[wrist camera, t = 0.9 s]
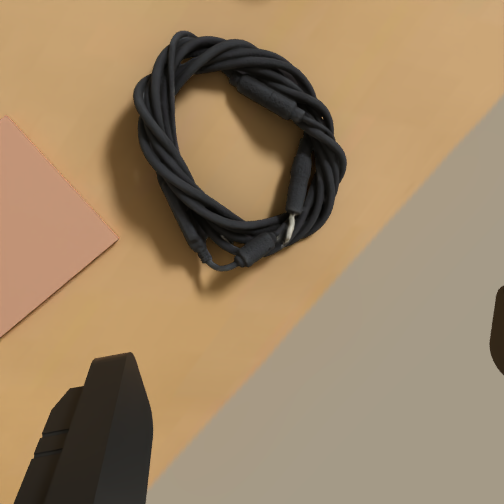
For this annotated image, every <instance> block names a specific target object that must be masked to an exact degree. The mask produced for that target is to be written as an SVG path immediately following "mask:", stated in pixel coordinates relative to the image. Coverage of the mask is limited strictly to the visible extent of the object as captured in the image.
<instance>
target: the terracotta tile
mask: <svg viewBox="0 0 504 504" xmlns="http://www.w3.org/2000/svg"><path fill="white" fill-rule="evenodd" d="M118 239H119V237H118V236H117V235H116V234H115V233H114V232H113V230H112V229H111V228H110V227H109V226H108V225H107V224H106V223H105V222H104V221H103V219H102V218H101V217H100V216H99V215H98V214H97V213H96V212H95V211H94V210H93V209H92V207H91V206H90V205H89V204H88V203H87V202H86V201H85V200H84V199H83V198H82V196H81V195H80V194H79V193H78V192H77V191H76V190H75V189H74V188H73V187H72V185H71V184H70V183H69V182H68V181H67V180H66V179H65V178H64V177H63V176H62V175H61V173H60V172H59V171H58V170H57V169H56V168H55V167H54V166H53V165H52V164H51V162H50V161H49V160H48V159H47V158H46V157H45V156H44V155H43V154H42V153H41V151H40V150H39V149H38V148H37V147H36V146H35V145H34V144H33V143H32V142H31V141H30V139H29V138H28V137H27V136H26V135H25V134H24V133H23V132H22V131H21V130H20V128H19V127H18V126H17V125H16V124H15V123H14V122H13V121H12V120H11V119H10V117H8V116H6V115H5V116H4V117H3V118H2V119H0V337H1V336H3V335H4V334H5V333H6V332H7V331H9V330H10V329H11V328H12V327H13V326H15V325H16V324H17V323H18V322H19V321H21V320H22V319H23V318H24V317H25V316H27V315H28V314H29V313H30V312H31V311H33V310H34V309H35V308H36V307H37V306H39V305H40V304H41V303H42V302H43V301H45V300H46V299H47V298H48V297H49V296H51V295H52V294H53V293H54V292H55V291H57V290H58V289H59V288H60V287H61V286H63V285H64V284H65V283H66V282H67V281H69V280H70V279H71V278H72V277H73V276H75V275H76V274H77V273H78V272H79V271H81V270H82V269H83V268H84V267H85V266H87V265H88V264H89V263H90V262H91V261H93V260H94V259H95V258H96V257H97V256H99V255H100V254H101V253H102V252H103V251H105V250H106V249H107V248H108V247H109V246H111V245H112V244H113V243H114V242H115V241H117V240H118Z"/></svg>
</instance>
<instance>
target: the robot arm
mask: <svg viewBox="0 0 504 504" xmlns="http://www.w3.org/2000/svg"><path fill="white" fill-rule="evenodd" d="M490 352H491V356H492V358H493V361H494V363H495V365H496V366H497V368H498V369H499V370H500V372H501V373H502V374H503V375H504V286H502V287H501V288H500V289H499V290H498V292H497V295H496V302H495V309H494V315H493V322H492V329H491V336H490ZM152 440H153V419H152V412H151V407H150V404H149V400H148V397H147V394H146V391H145V388H144V385H143V381H142V378H141V375H140V372H139V369H138V366H137V362H136V360H135V357H134V355H133V354H132V353H131V352H128V353H123V354H117V355H112V356H106V357H101V358H95V359H94V360H93V361H92V363H91V366H90V369H89V372H88V375H87V378H86V381H85V384H84V386H81V387H76V388H70V389H69V390H68V391H67V393H66V394H65V395H64V396H63V397H62V398H61V400H60V401H59V402H58V403H57V404H56V405H55V407H54V408H53V409H52V410H51V413H50V415H49V418H48V420H47V423H46V425H45V427H44V430H43V432H42V438H40V440H39V442H38V445H37V447H36V450H35V452H34V459H32V460H31V462H30V465H29V467H28V470H27V472H26V474H25V477H24V479H23V482H22V484H21V487H20V489H19V492H18V494H17V497H16V499H15V502H14V504H145V503H146V494H147V485H148V476H149V467H150V458H151V449H152Z"/></svg>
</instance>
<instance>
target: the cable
mask: <svg viewBox="0 0 504 504" xmlns="http://www.w3.org/2000/svg"><path fill="white" fill-rule="evenodd" d="M191 57H195V58H192V59H190V60H189V61H187V62H186V63H184V64H181V61H182V60H183V59H186V58H191ZM214 71H222V72H223V73H224V74H226V76H227V77H228V78H229V83H230V84H231V85H233V86H235V87H237V91H238V92H240V93H241V94H243V95H245V96H247V97H248V98H250V99H252V100H253V101H255V102H257V103H258V104H260V105H262V106H263V107H265V108H267V109H269V110H270V111H272V112H274V113H276V114H277V115H279V116H281V117H282V118H283V119H286V120H289V119H291V120H292V121H293V122H294V123H295V124H296V125H297V126H298V127H300V128H301V129H302V130H303V131H304V136H303V138H301V139H300V143H299V147H298V151H297V154H296V156H295V157H294V161H293V165H292V168H291V172H290V173H291V179H290V184H289V187H288V194H287V202H286V208H285V210H286V213H283V214H280V215H278V216H275V217H271V218H267V219H263V220H257V221H244V220H243V219H241V218H240V217H238V216H237V215H235V214H234V213H232V212H231V211H230V210H228V209H227V208H225V207H224V206H223V205H221V204H220V203H218V202H217V201H215V200H214V199H212V198H211V197H209V196H208V195H206V194H205V193H204V192H203V191H202V190H201V189H200V188H199V187H198V186H197V185H196V184H195V182H194V179H193V177H192V175H191V173H190V171H189V169H188V167H187V165H186V163H185V162H184V160H183V158H182V157H181V155H180V152H179V147H178V143H177V136H176V126H175V95H176V94H177V93H178V92H179V90H180V89H181V88H182V86H183V85H184V84H185V83H186V82H187V80H188V79H190V77H191V76H192V75H194V74H202V73H208V72H214ZM133 98H134V104H135V107H136V109H137V111H138V113H139V115H140V116H139V121H138V137H139V143H140V146H141V149H142V151H143V153H144V155H145V157H146V159H147V161H148V162H149V164H150V165H151V166H152V167H153V168H154V170H155V171H156V173H157V178H158V182H159V184H160V187H161V189H162V191H163V193H164V195H165V197H166V199H167V201H168V203H169V206H170V207H171V210H172V212H173V214H174V216H175V218H176V220H177V222H178V224H179V226H180V228H181V230H182V232H183V234H184V237H185V239H186V241H187V242H188V244H189V246H190V248H191V249H192V250H193V251H194V252H197V253H198V256H199V258H200V259H201V261H202V263H206V264H207V265H208V266H210V267H211V268H212V269H214V270H217V271H229V270H232V269H234V268H236V267H238V266H239V267H250V266H252V265H253V264H254V263H255V262H257V261H258V260H260V259H261V258H262V257H266V256H269V255H272V254H274V253H276V252H278V251H279V250H281V249H282V248H284V247H287V246H290V245H292V244H294V243H295V242H297V241H299V240H300V239H303V238H306V237H308V236H310V235H312V234H313V233H315V232H316V231H317V230H319V229H320V228H321V227H322V226H323V225H324V223H325V222H326V221H327V219H328V218H329V216H330V214H331V211H332V209H333V205H334V200H335V196H336V194H337V191H338V186H339V183H340V182H341V180H342V178H343V176H344V174H345V171H346V166H347V161H346V156H345V153H344V151H343V149H342V148H341V147H340V145H339V144H338V143H337V142H336V141H335V137H334V126H333V120H332V117H331V114H330V112H329V110H328V109H327V107H326V106H325V105H324V104H323V103H322V102H321V101H319V100H318V99H317V98H316V94H315V92H314V89H313V87H312V85H311V84H310V82H309V81H308V79H307V78H306V77H305V75H304V74H303V73H302V72H301V71H300V70H299V69H297V68H296V67H294V66H293V65H292V64H291V63H290V62H288V61H287V60H286V59H285V58H283V57H282V56H280V55H278V54H276V53H273V52H271V51H267V50H262V49H258V48H257V47H256V46H254V45H253V44H251V43H249V42H247V41H244V40H239V39H230V40H225V39H222V38H218V37H213V36H203V37H197V36H195V35H194V34H192V33H190V32H188V31H180V32H177V33H176V34H175V35H174V36H173V38H172V39H171V42H170V44H169V45H168V46H167V47H165V49H163V50H162V52H161V53H160V54H159V56H158V57H157V59H156V61H155V64H154V67H153V71H152V74H149V75H147V76H146V77H144V78H143V79H141V80H140V81H139V82H138V84H137V85H136V87H135V89H134V93H133ZM322 117H323V119H322ZM313 150H314V154H315V164H316V172H315V174H314V177H313V180H312V182H311V185H310V188H309V190H308V193H307V196H306V191H307V185H308V180H309V177H310V174H311V165H312V159H311V154H312V151H313ZM305 196H306V199H305ZM304 200H305V201H304ZM208 237H210V238H211V239H212V240H213V241H214V242H215V243H216V244H217V245H218V246H220V247H221V248H222V249H224V250H226V251H227V252H229V253H231V254H233V255H236V256H235V258H234V262H233V263H230V264H228V265H225V266H219V265H217V264H215V263H214V262H213V261H212V256H211V255H210V253H209V252H208V250H207V246H206V239H207V238H208ZM233 241H235V242H239V243H244V244H245V245H244V246H243V247H242V248H238V247H235V246H233V245H232V244H234V242H233Z"/></svg>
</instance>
